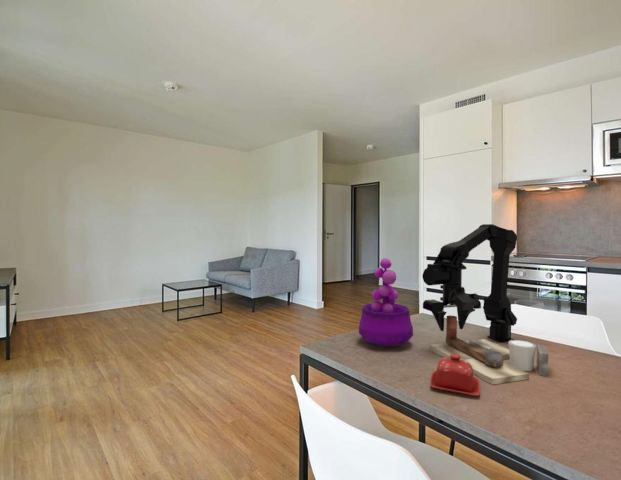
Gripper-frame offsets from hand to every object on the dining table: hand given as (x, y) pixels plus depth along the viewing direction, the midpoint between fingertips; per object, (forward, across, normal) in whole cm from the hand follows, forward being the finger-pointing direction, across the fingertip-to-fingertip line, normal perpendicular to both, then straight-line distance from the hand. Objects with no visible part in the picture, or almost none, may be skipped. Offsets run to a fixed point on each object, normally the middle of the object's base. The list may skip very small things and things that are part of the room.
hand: (451, 329), depth 115 cm
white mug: (+7, +10, -18) cm, 22 cm away
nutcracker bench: (+7, +5, -12) cm, 14 cm away
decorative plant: (+7, -18, +12) cm, 23 cm away
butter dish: (+7, -17, -23) cm, 29 cm away
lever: (+4, 0, -9) cm, 10 cm away
